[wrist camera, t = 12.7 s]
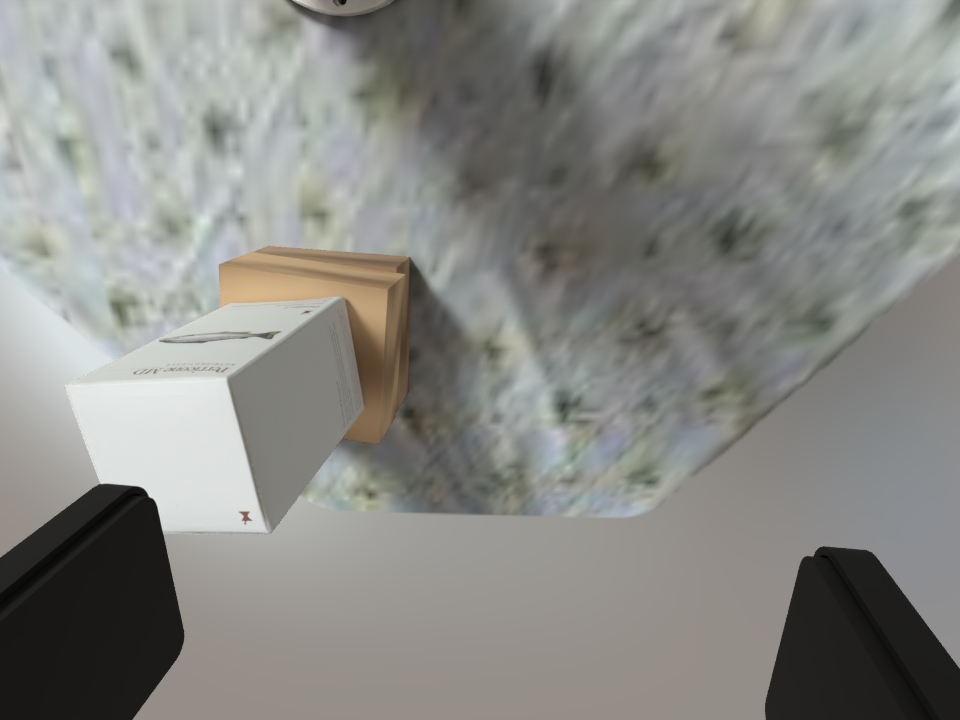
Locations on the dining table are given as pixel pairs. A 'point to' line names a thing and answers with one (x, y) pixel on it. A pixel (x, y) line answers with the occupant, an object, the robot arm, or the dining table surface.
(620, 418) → the dining table surface
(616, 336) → the dining table surface
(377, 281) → the tower top
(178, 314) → the dining table surface
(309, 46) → the dining table surface
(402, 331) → the tower base
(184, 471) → the supplement box
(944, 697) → the robot arm
